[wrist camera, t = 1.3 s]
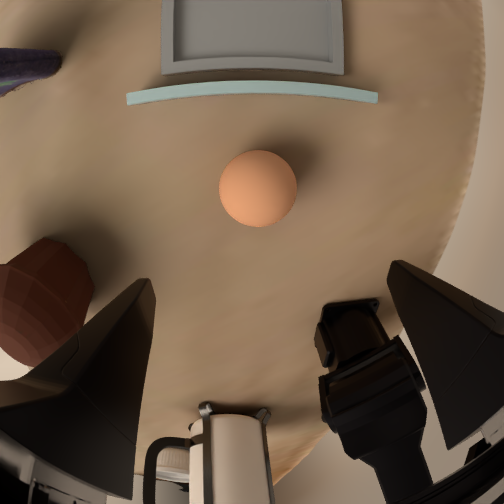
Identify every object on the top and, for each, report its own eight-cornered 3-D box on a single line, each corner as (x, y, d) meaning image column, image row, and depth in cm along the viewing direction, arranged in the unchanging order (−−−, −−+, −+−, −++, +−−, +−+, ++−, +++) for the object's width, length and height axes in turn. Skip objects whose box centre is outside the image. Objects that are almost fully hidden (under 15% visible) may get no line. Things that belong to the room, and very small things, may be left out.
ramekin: (138, 446, 49) (136, 470, 43) (180, 443, 46) (179, 471, 40) (173, 461, 55) (173, 482, 49) (214, 457, 53) (215, 481, 47)
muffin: (87, 220, 20) (25, 295, 11) (121, 317, 26) (95, 398, 17) (4, 233, 19) (-51, 291, 11) (41, 314, 25) (8, 377, 17)
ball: (289, 144, 18) (308, 159, 14) (287, 208, 21) (302, 238, 17) (218, 146, 18) (215, 160, 14) (221, 210, 21) (220, 242, 17)
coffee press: (250, 387, 34) (274, 593, 8) (282, 423, 42) (306, 568, 16) (148, 405, 36) (138, 574, 10) (198, 438, 44) (202, 568, 19)
